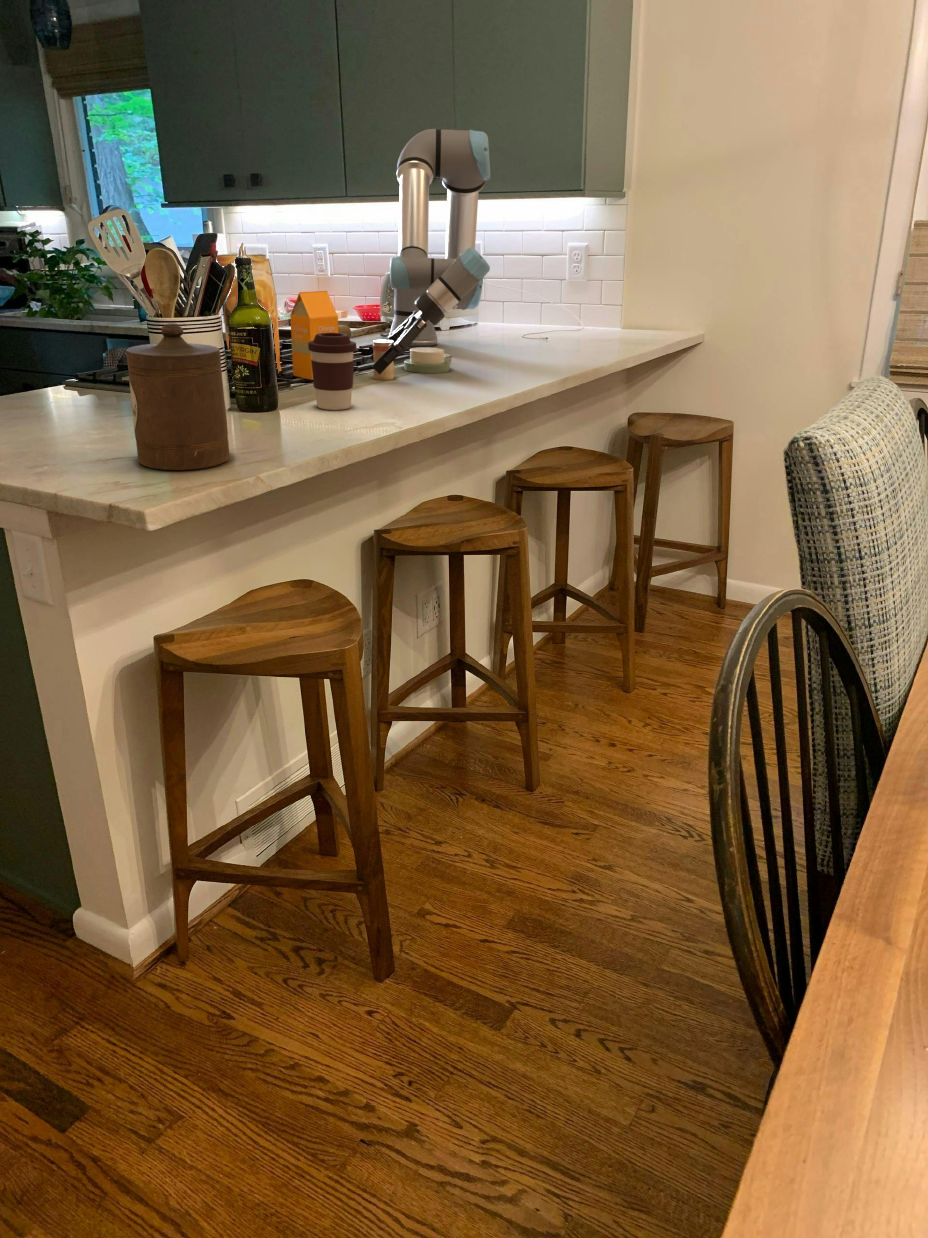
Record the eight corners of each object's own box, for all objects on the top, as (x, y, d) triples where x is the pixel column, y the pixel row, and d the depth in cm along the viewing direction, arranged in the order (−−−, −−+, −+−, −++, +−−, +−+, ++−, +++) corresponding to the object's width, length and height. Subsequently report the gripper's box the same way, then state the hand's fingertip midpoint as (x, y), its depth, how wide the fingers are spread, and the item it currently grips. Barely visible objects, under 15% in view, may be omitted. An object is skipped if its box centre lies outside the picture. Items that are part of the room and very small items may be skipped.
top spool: (369, 377, 233) (368, 340, 229) (385, 375, 236) (385, 338, 233) (382, 380, 230) (382, 343, 226) (398, 378, 233) (398, 341, 229)
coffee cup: (319, 413, 194) (317, 338, 187) (304, 404, 201) (301, 332, 195) (364, 410, 198) (363, 336, 192) (347, 401, 206) (345, 330, 200)
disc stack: (395, 367, 247) (395, 348, 245) (428, 363, 255) (428, 345, 253) (425, 374, 239) (425, 354, 237) (458, 370, 247) (459, 350, 245)
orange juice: (339, 376, 234) (337, 291, 226) (312, 379, 228) (309, 293, 220) (320, 371, 239) (317, 289, 230) (292, 375, 233) (288, 290, 224)
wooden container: (170, 445, 166) (157, 316, 157) (245, 453, 162) (236, 321, 153) (119, 465, 153) (102, 325, 144) (199, 475, 149) (187, 332, 140)
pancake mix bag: (212, 377, 227) (203, 253, 216) (273, 368, 241) (267, 252, 229) (230, 380, 223) (221, 255, 212) (291, 371, 237) (285, 253, 225)
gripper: (452, 321, 218) (387, 385, 222) (440, 308, 240) (382, 367, 244) (429, 296, 215) (365, 362, 219) (420, 286, 237) (362, 346, 241)
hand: (374, 365), depth 232 cm, fingers open, 13 cm apart
